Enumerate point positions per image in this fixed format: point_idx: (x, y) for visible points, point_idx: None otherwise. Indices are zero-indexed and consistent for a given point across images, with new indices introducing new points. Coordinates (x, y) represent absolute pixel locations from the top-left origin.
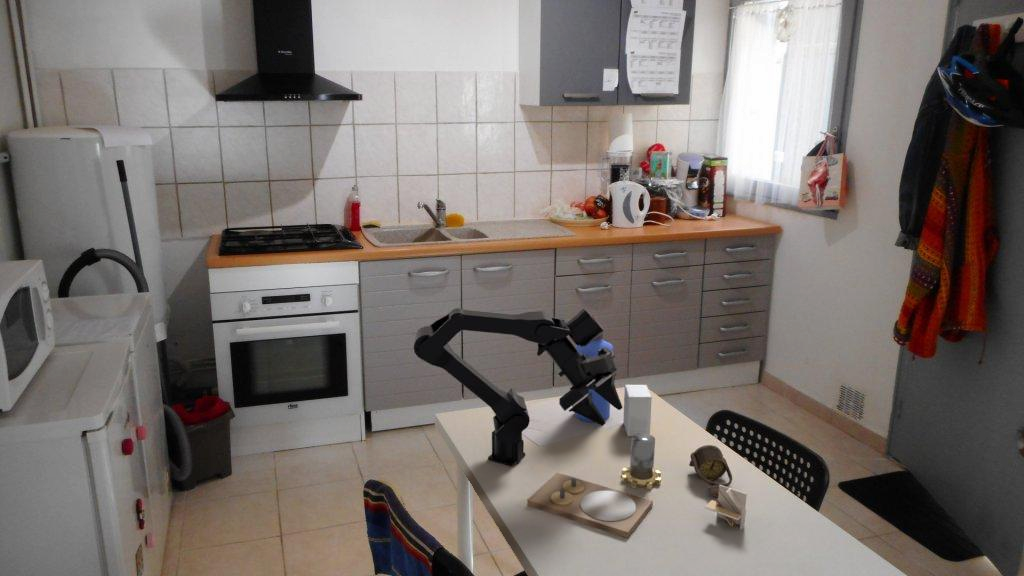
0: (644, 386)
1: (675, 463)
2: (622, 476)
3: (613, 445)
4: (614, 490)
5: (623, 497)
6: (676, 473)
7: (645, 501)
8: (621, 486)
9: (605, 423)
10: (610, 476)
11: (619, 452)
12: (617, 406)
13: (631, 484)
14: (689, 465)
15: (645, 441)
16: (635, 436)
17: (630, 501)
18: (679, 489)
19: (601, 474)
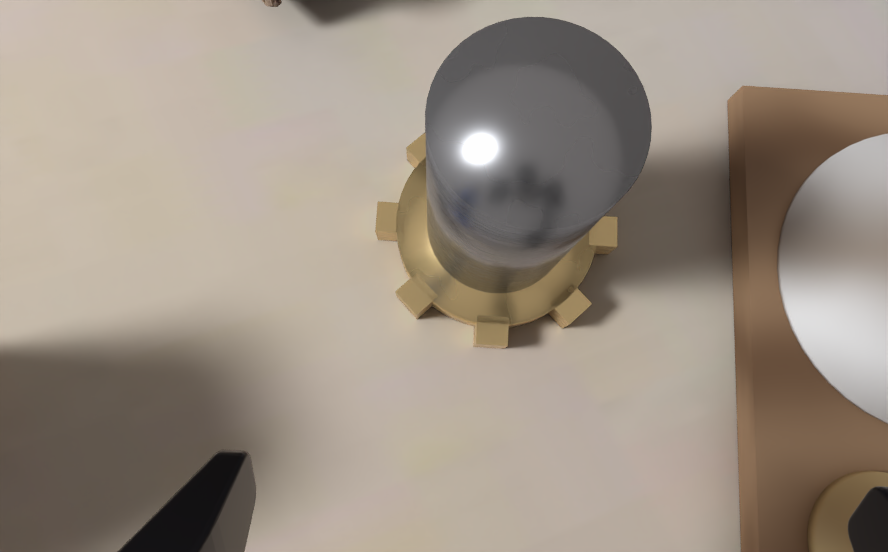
0: None
1: (225, 113)
2: (575, 318)
3: None
4: (761, 303)
5: (814, 227)
6: (339, 80)
7: (770, 116)
8: (628, 305)
9: (880, 486)
10: (554, 404)
11: None
12: (235, 534)
13: (613, 249)
14: (278, 4)
15: (590, 83)
16: (540, 195)
17: (828, 181)
18: None
19: (559, 464)
